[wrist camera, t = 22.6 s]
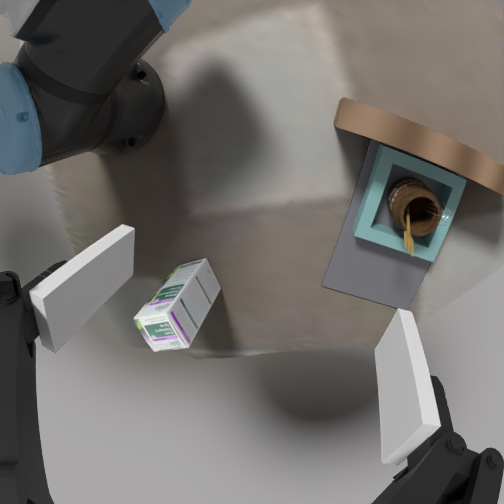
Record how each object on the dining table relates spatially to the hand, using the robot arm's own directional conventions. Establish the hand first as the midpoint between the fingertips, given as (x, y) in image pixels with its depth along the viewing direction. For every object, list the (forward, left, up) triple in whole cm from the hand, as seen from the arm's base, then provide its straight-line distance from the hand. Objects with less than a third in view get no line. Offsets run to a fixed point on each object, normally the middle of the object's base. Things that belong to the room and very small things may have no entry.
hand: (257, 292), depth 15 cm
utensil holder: (+14, +1, -28) cm, 32 cm away
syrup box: (-11, -20, -29) cm, 37 cm away
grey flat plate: (+14, -4, -29) cm, 32 cm away
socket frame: (+14, +1, -29) cm, 32 cm away
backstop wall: (+14, +9, -29) cm, 33 cm away
